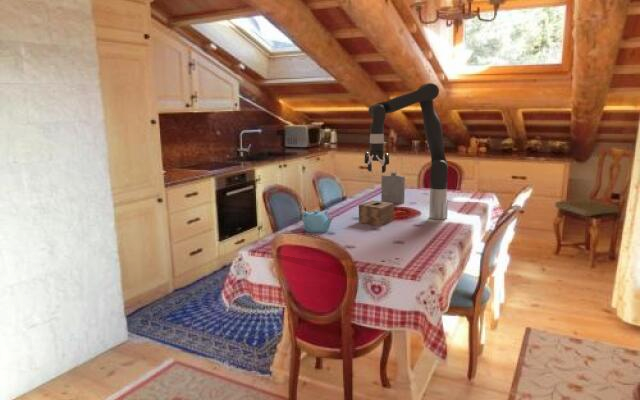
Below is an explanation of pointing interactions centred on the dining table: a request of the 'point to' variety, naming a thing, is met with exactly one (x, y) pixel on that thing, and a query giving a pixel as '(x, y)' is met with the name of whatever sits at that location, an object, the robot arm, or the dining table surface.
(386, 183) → the hip flask
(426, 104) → the robot arm
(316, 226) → the teapot
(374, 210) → the box
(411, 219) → the dining table surface
